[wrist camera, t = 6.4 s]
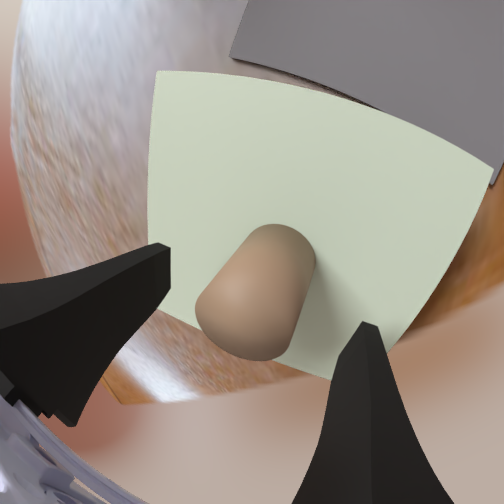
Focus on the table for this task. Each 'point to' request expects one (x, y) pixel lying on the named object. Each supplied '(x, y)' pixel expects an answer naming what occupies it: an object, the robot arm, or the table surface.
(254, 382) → the table surface
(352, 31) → the mat
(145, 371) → the table surface
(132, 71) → the table surface
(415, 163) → the cover
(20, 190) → the table surface
